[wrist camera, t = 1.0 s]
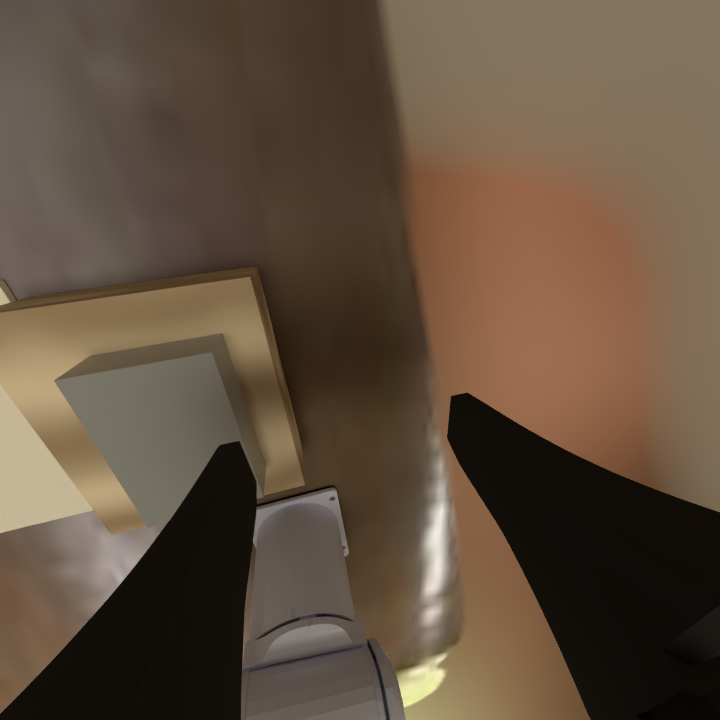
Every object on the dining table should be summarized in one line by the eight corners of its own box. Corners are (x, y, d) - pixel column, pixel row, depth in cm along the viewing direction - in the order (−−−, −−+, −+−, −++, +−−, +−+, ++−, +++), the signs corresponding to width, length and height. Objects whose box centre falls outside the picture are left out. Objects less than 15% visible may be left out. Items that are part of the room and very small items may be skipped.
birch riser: (301, 446, 24) (304, 484, 20) (139, 484, 22) (111, 534, 19) (257, 265, 18) (250, 276, 14) (26, 297, 16) (-48, 319, 12)
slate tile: (266, 465, 19) (263, 497, 17) (164, 489, 18) (148, 527, 16) (222, 333, 15) (211, 352, 13) (89, 355, 14) (54, 380, 12)
